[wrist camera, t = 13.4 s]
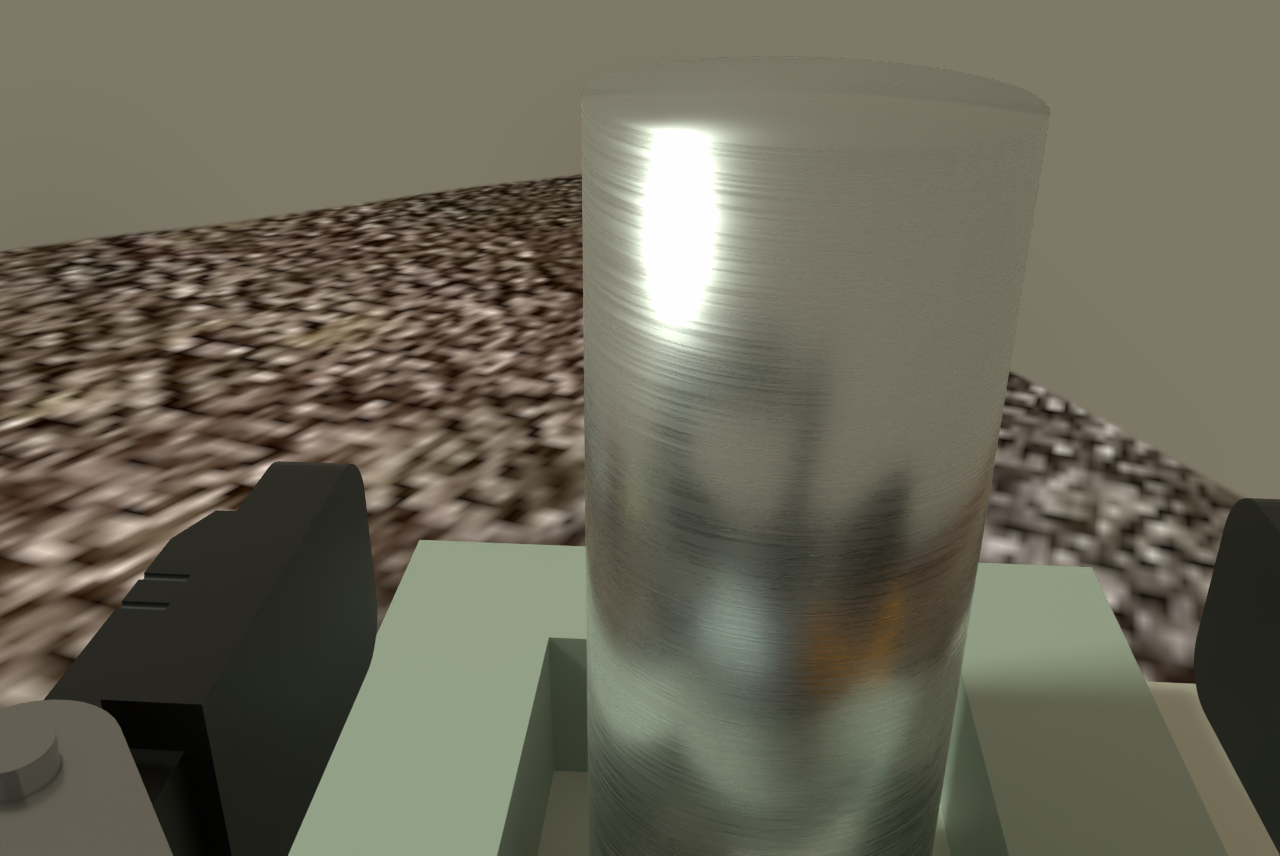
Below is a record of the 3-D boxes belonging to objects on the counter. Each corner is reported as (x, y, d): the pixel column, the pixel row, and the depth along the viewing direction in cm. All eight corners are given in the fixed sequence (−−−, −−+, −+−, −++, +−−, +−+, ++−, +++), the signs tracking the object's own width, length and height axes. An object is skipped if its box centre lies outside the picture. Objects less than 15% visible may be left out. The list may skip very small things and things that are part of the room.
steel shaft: (569, 1074, 17) (549, 141, 11) (606, 814, 21) (605, 51, 16) (933, 1103, 17) (1106, 156, 11) (893, 833, 21) (1001, 62, 15)
